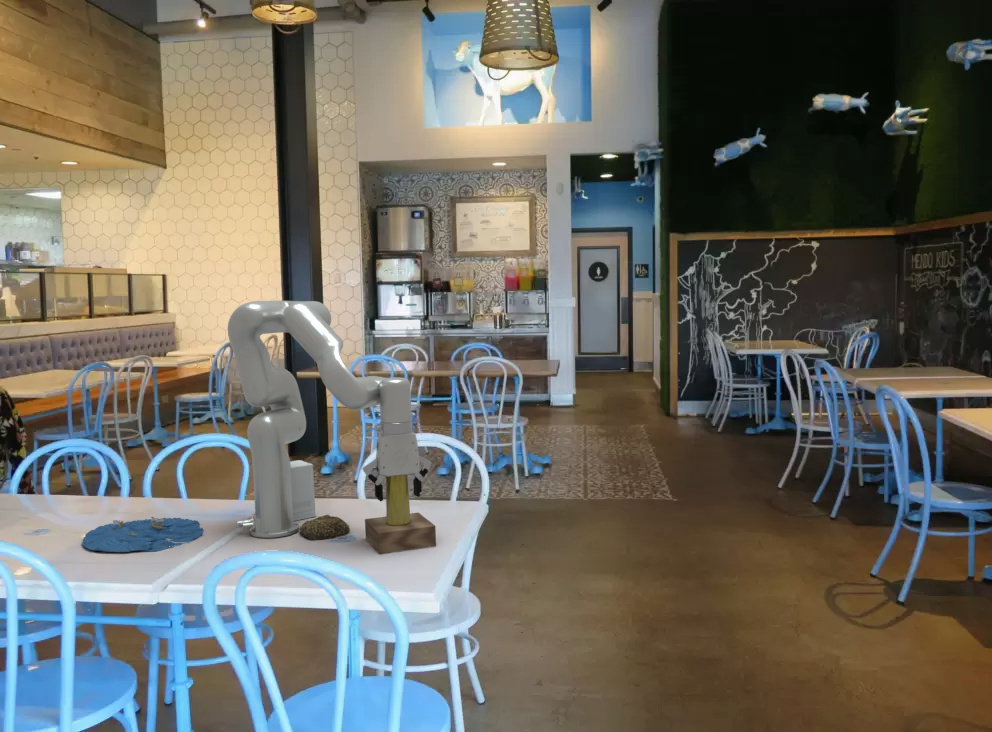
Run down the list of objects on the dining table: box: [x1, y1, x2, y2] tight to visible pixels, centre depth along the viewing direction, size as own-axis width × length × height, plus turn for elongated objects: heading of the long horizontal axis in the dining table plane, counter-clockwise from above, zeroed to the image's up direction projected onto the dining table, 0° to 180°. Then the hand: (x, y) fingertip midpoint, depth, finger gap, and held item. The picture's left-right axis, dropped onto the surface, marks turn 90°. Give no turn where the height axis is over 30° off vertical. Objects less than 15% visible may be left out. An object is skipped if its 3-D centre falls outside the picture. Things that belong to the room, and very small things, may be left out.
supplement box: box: [290, 459, 317, 522], centre depth 238 cm, size 9×9×15 cm
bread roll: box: [299, 514, 351, 541], centre depth 222 cm, size 13×12×5 cm
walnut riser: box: [364, 512, 437, 555], centre depth 211 cm, size 14×14×5 cm
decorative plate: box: [81, 516, 204, 553], centre depth 222 cm, size 30×30×5 cm
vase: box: [385, 475, 411, 526], centre depth 210 cm, size 6×6×14 cm
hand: (398, 497), depth 211 cm, fingers open, 9 cm apart
